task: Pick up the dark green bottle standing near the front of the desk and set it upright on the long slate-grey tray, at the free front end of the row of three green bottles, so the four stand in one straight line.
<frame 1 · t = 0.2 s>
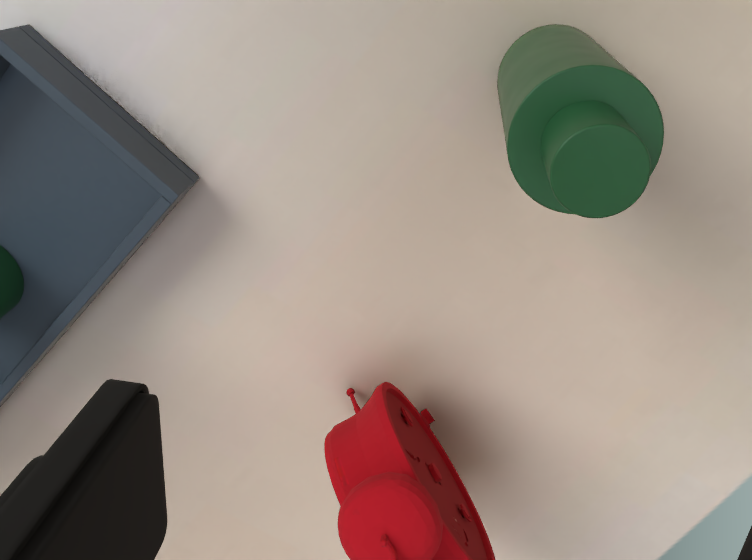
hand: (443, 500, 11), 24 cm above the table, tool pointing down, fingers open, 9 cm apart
alarm clock: (420, 416, 40), on the table
loose bottle: (550, 80, 31), on the table
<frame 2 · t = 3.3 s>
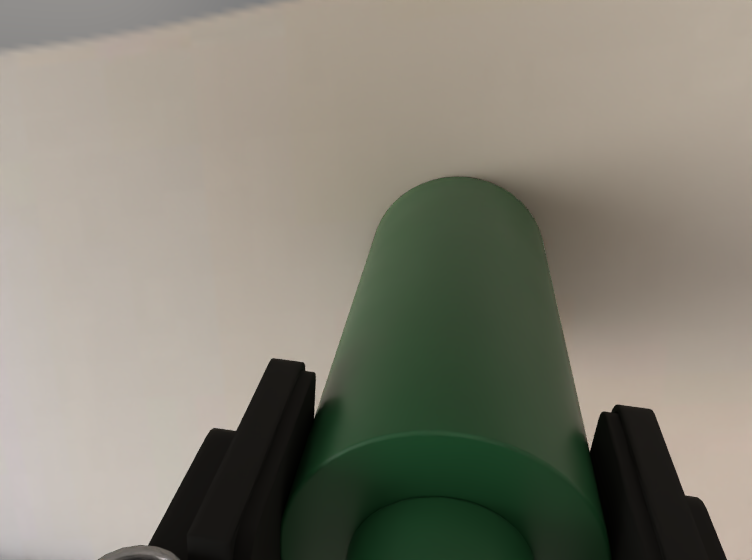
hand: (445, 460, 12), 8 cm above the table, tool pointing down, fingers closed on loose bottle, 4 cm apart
loose bottle: (456, 257, 19), on the table, touching gripper
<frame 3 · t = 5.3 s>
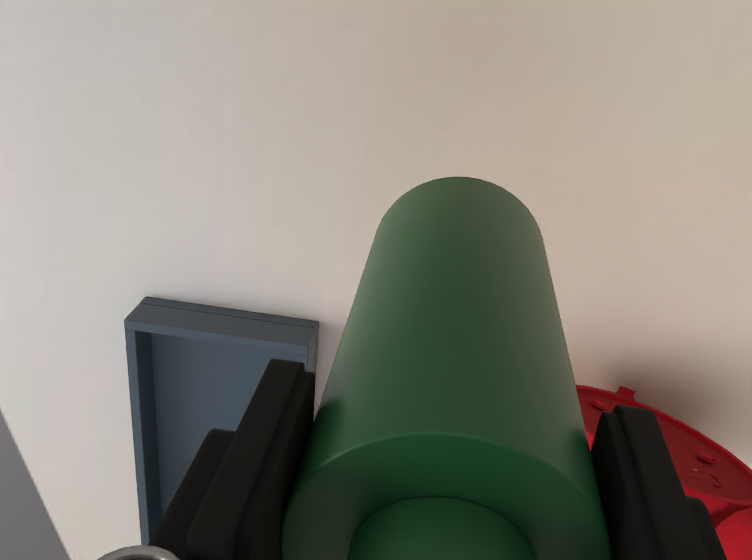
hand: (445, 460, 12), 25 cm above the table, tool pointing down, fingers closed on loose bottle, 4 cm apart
alarm clock: (621, 395, 40), on the table
loose bottle: (457, 257, 19), point 17 cm above the table, touching gripper
tray: (231, 529, 48), on the table
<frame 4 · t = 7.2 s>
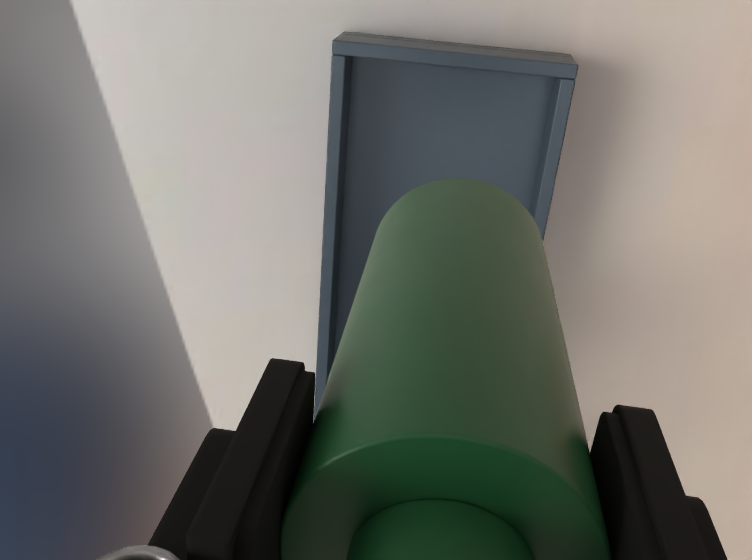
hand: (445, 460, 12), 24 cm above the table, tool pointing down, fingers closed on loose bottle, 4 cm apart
loose bottle: (456, 259, 19), point 16 cm above the table, touching gripper
tray: (415, 363, 39), on the table
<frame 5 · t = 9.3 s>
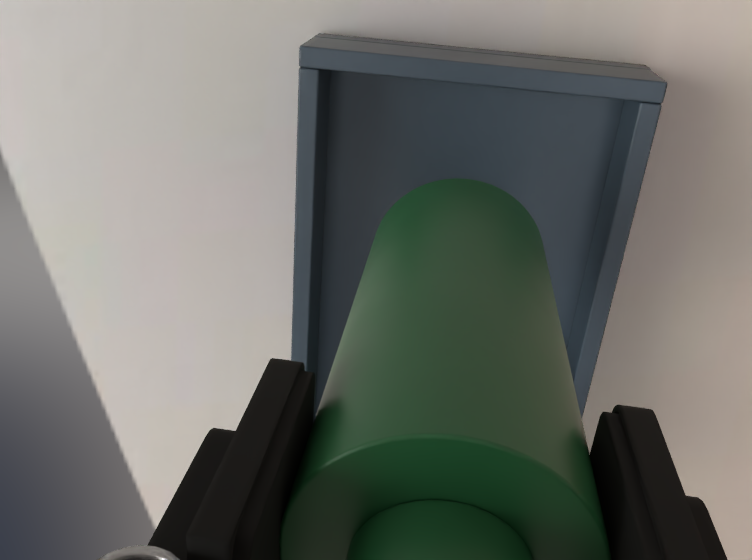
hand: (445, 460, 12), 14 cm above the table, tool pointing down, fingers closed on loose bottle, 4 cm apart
loose bottle: (456, 259, 19), point 6 cm above the table, touching gripper
tray: (421, 471, 30), on the table
when the fingers open (9 cm above the table, at t = 10.9 s): loose bottle stays where it is, resting on tray.
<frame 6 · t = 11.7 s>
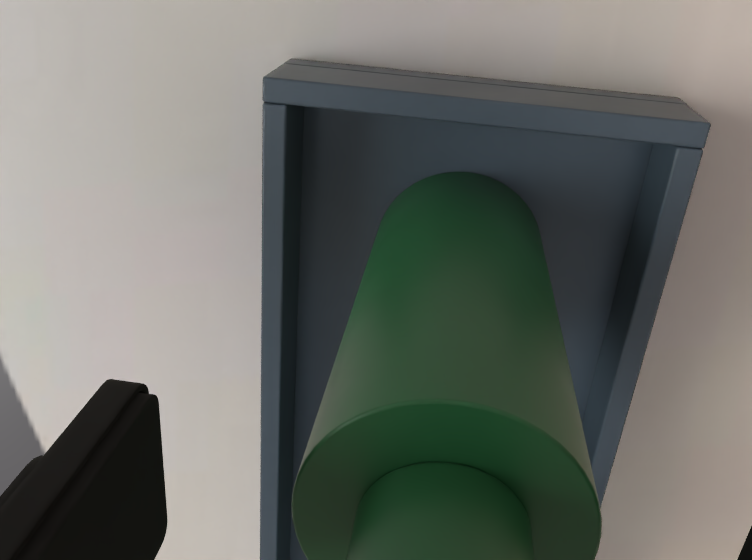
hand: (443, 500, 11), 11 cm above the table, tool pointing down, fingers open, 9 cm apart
loose bottle: (457, 250, 20), point 1 cm above the table, touching tray
tray: (414, 550, 26), on the table
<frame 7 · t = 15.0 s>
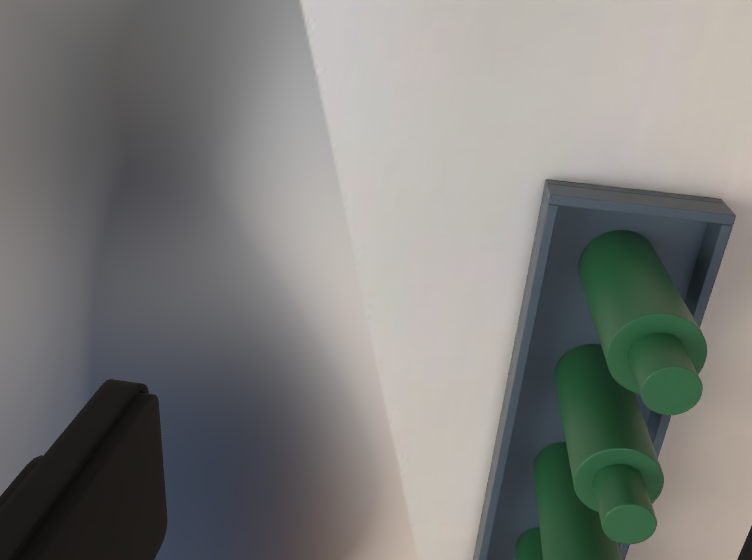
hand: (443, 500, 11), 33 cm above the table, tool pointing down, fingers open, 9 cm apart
bottle 3: (545, 548, 54), point 1 cm above the table, touching tray
bottle 2: (566, 467, 51), point 1 cm above the table, touching tray
bottle 1: (589, 373, 47), point 1 cm above the table, touching tray
loose bottle: (617, 264, 43), point 1 cm above the table, touching tray
tray: (574, 420, 50), on the table
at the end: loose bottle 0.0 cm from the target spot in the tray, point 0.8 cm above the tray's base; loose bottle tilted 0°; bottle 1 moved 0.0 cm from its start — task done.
